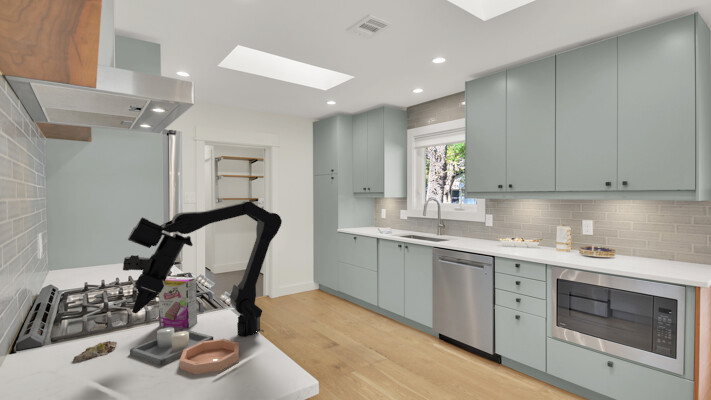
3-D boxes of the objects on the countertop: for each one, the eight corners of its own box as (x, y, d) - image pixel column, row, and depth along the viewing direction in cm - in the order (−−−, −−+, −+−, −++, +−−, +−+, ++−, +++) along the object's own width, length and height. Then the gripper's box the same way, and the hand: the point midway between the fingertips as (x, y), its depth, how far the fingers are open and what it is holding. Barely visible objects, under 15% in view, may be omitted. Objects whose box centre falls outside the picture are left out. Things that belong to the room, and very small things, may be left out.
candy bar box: (158, 328, 117) (156, 279, 117) (168, 323, 122) (167, 275, 122) (188, 331, 115) (187, 280, 115) (198, 325, 120) (196, 277, 120)
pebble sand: (182, 345, 103) (182, 330, 103) (192, 348, 101) (192, 332, 100) (168, 351, 99) (167, 335, 99) (178, 354, 97) (178, 338, 97)
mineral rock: (103, 338, 105) (121, 335, 102) (107, 353, 105) (124, 350, 102) (62, 355, 95) (80, 352, 92) (66, 371, 95) (84, 369, 92)
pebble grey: (168, 341, 106) (168, 326, 106) (178, 343, 104) (177, 328, 103) (154, 346, 102) (153, 331, 102) (163, 349, 100) (163, 334, 100)
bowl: (214, 346, 103) (214, 336, 103) (250, 356, 97) (249, 345, 97) (169, 368, 91) (169, 356, 91) (207, 381, 85) (206, 368, 84)
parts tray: (182, 335, 112) (182, 328, 111) (213, 343, 105) (213, 336, 105) (130, 357, 97) (129, 349, 97) (162, 368, 91) (161, 360, 91)
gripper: (139, 240, 104) (110, 291, 100) (131, 245, 87) (95, 306, 83) (177, 256, 108) (150, 305, 104) (177, 262, 91) (144, 321, 87)
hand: (136, 308), depth 95 cm, fingers open, 9 cm apart
